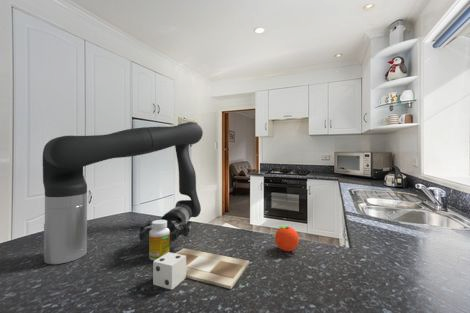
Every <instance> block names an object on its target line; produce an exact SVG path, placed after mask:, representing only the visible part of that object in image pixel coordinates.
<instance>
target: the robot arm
mask: <svg viewBox="0 0 470 313" xmlns="http://www.w3.org/2000/svg"><path fill="white" fill-rule="evenodd" d="M203 134H204V133H203V129H202V127H201V125H199V124H198V123H196V122H194V121H188V122H184V123H179V124H177V125H173V126H145V127H136V128H135V127H133V128H127V129H123V130H119V131H116V132H112V133H107V134H100V135H99V134H96V135H95V134H94V135H63V136H58V137H55V138H52V139H50V140H49V141H48V142H47V143H46V144H45V145H44V147H43V151H42V184H43V189H44V222H43V259H44V263H45V264H46V265H47V264H48V265H60V264H65V263H69V262H70V263H71V262H73V261H76V260H79V259H80V258H82V257H85V256H86V254H87V248H88V247H87V246H88V245H87V244H88V243H87V241H88V231H87V230H88V185H87V182H86V180H85V176H84V175H85V174H84V167H86V166H89V165H94V164H97V163H100V162H103V161H106V160H112V159H117V158H118V159H120V158H121V159H122V158H129V157H130V158H131V157H137V156H142V155H147V154H150V153H154V152H158V151H162V150H165V149H168V148H169V149H170V148H171V147H174V148H175V154H176V161H177V165H178V166H177V169H178V192H179V194H180V195H184V196H187V197H189V199H182V200H177V201H176V204H175V207H174V208H172V209H170V210H168V212H166V213H165V214H163V215H162V216H161V219H160V220H166V221H167V227H166V228H168V229H169V230H170V242H175V241H176V240H178V239H179V238H181V237H182V236H183V237H187V236H189V234H190V232H191V230H192V222H191V221H190V219H191V218H198V217H199V216H200V214H201V211H202V208H201V207H202V206H201V203H200V200H199V197H198V193H197V175H196V170H195V167H194V165H193V163H192V160H191V157H190V150H189V148H190V145H195V144H197V143H198V142H200V141H201V139H202V137H203ZM152 222H153V221H151V220H149V221H147V222H145V223H143V224H141V225H139V233H138V234H139V235H138V238H139V241H145V240H146V239H147V238H149V232H150V231H151V230H152V229H153V228H152Z"/></svg>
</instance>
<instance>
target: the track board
mask: <svg viewBox="0 0 470 313" xmlns="http://www.w3.org/2000/svg"><path fill="white" fill-rule="evenodd" d="M174 253H175V254H180V255H185V256H186V278H187V279H191V280H194V281H199V282H201V283H206V284H210V285H213V286H218V287H220V288H221V287H222V288H225V289H230V290H231V289H233V287H234V286H235V284H236V283H237V281H238V280H239V279H240V277H241V276H242V274H244V272H245V270H246V269H247V268H248V266H249V264H250V260H247V259H241V258H236V257H232V256H231V257H230V256H226V255H222V254H221V255H220V254H215V253H210V252H205V251H199V250H194V249H189V248H184V247H183V248H182V249H180V250H178V251H177V252H174ZM186 278H185V279H186Z"/></svg>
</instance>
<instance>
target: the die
mask: <svg viewBox="0 0 470 313" xmlns="http://www.w3.org/2000/svg"><path fill="white" fill-rule="evenodd" d="M175 253H176V252H171V251H170V252H168V253H166V254H165V255H163V256H161V257H160V258H158V259H156V260H155V261H154V260H152V261H153V264H152V265H153V266H152V267H153V268H152V270H153V272H152V278H153V279H152V281H153V282H152V285H153V286H157V287H161V288H164V289H168V290H174V289H175V288H176V287H177V286H178V285H179V284H181V283H182V282H183V281H184V280H185V279H186V256H185V255H180V254H175Z"/></svg>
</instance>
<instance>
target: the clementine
mask: <svg viewBox="0 0 470 313" xmlns="http://www.w3.org/2000/svg"><path fill="white" fill-rule="evenodd" d="M277 228H279V229H278V230H276V229H277ZM275 230H276V233H275V235H274V241H275V244H276V245H277V247H278V248H279V249H280V250H282V251H283V252H284V251H285V252H291V251H294V250H295V249H297V247H298V246H299V244H300V243H299V242H300V239H299V235H298V232H297V231H296V230H295V229H294V228H293V227H290V226H284V225H283V226H282V225H280V226H277V227H275V228H274V229H273V230H272V232H274V231H275Z"/></svg>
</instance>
